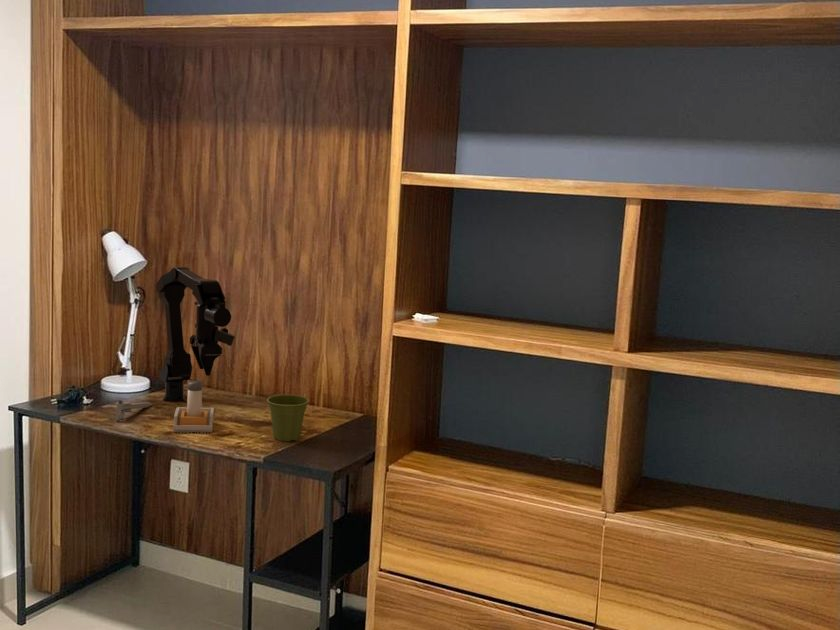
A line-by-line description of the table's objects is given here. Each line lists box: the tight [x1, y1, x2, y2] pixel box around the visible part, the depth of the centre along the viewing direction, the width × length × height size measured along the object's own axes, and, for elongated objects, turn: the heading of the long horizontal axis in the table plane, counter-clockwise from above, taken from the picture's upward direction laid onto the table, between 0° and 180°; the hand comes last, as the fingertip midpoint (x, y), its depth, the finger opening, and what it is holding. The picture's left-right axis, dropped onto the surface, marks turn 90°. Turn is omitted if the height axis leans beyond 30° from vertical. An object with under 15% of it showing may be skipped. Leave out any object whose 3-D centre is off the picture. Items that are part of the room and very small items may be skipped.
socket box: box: [172, 406, 215, 434], centre depth 245 cm, size 11×11×4 cm
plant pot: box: [266, 394, 310, 442], centre depth 241 cm, size 12×12×11 cm
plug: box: [186, 380, 203, 417], centre depth 245 cm, size 4×4×12 cm
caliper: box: [115, 399, 153, 422], centre depth 256 cm, size 20×1×6 cm, turn 171°
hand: (204, 372), depth 259 cm, fingers open, 9 cm apart
